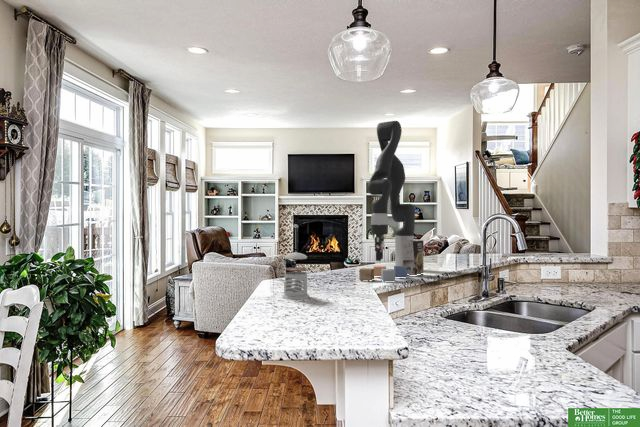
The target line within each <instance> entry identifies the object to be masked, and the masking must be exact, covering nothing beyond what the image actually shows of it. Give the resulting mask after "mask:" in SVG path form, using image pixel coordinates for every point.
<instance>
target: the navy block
mask: <svg viewBox="0 0 640 427" xmlns="http://www.w3.org/2000/svg"><path fill="white" fill-rule="evenodd" d="M393 269H394V270H395V277H407V278H408V276H407V267H406V266H395V265H394V266H393Z"/></svg>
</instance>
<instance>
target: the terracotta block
mask: <svg viewBox="0 0 640 427" xmlns="http://www.w3.org/2000/svg"><path fill="white" fill-rule="evenodd" d="M373 269H374V276H381V269H387V266H386V265H374V266H373Z"/></svg>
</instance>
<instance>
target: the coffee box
mask: <svg viewBox="0 0 640 427" xmlns="http://www.w3.org/2000/svg"><path fill="white" fill-rule="evenodd" d="M403 266H406V267H407V274H409V275H417V274H421V273H424V267H425V266H424V240H420V239H416V240H415V239H414V240H409V241H403Z"/></svg>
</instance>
